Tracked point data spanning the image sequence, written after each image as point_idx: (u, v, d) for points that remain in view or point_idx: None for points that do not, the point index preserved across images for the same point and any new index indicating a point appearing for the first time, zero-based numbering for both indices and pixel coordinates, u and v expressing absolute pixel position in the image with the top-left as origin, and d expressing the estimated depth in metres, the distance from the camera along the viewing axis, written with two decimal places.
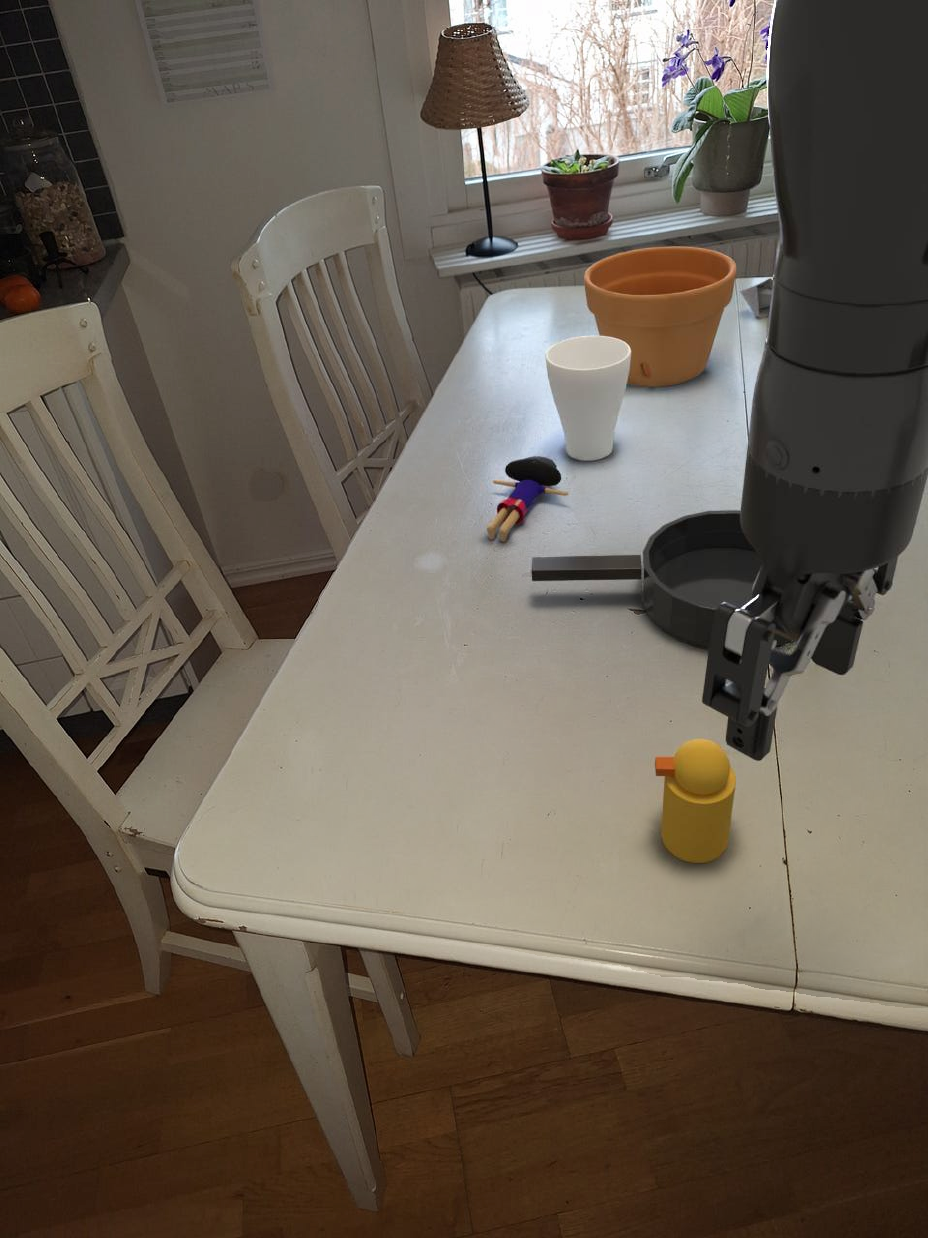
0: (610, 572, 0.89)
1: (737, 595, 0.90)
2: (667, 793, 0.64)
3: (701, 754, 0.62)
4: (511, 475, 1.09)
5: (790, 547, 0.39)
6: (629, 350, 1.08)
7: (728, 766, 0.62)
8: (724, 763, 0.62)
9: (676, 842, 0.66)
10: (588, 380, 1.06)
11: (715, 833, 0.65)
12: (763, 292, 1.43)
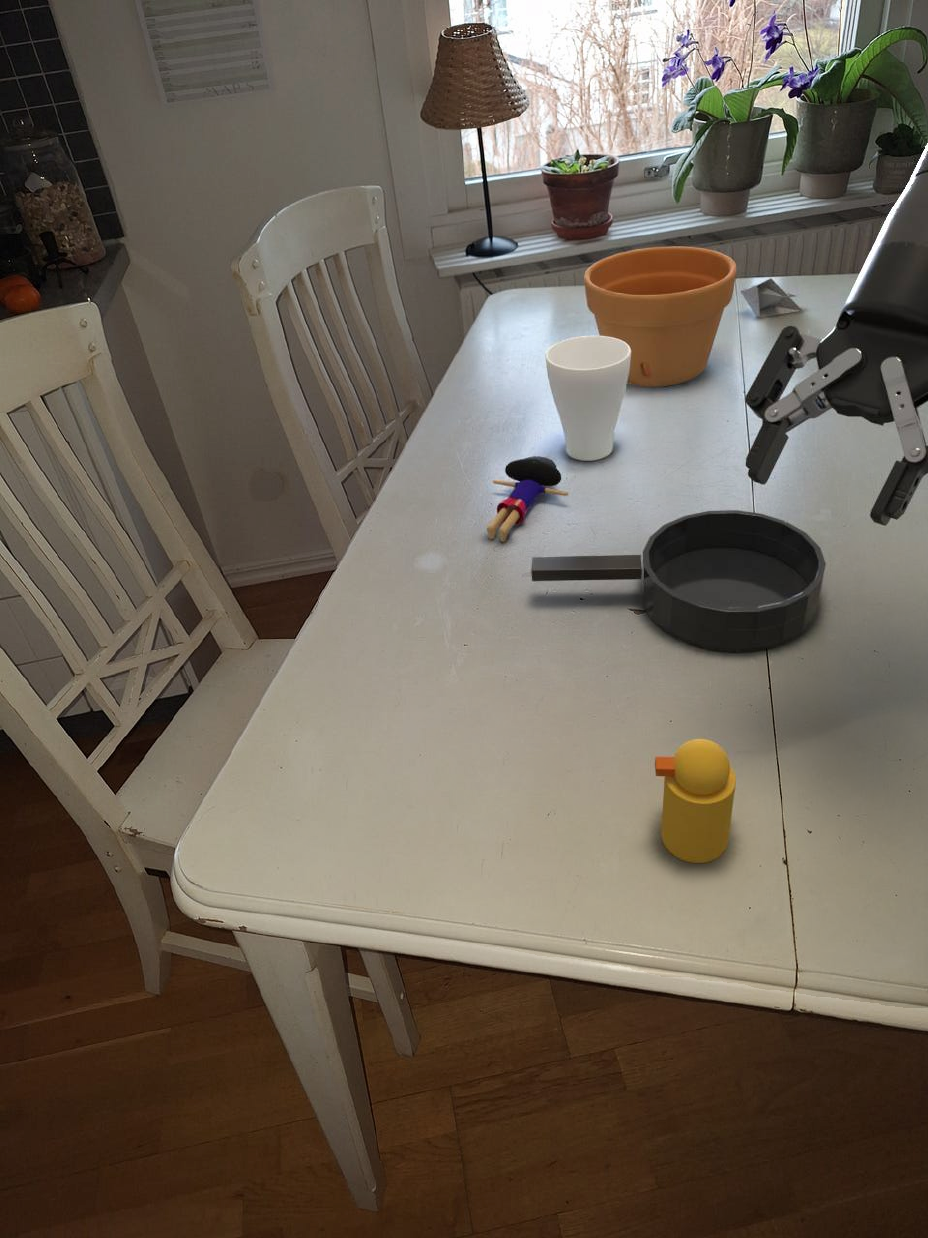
0: (610, 572, 0.89)
1: (737, 595, 0.90)
2: (667, 793, 0.64)
3: (701, 754, 0.62)
4: (511, 475, 1.09)
5: None
6: (629, 350, 1.08)
7: (728, 766, 0.62)
8: (724, 763, 0.62)
9: (676, 842, 0.66)
10: (588, 380, 1.06)
11: (715, 833, 0.65)
12: (764, 292, 1.43)
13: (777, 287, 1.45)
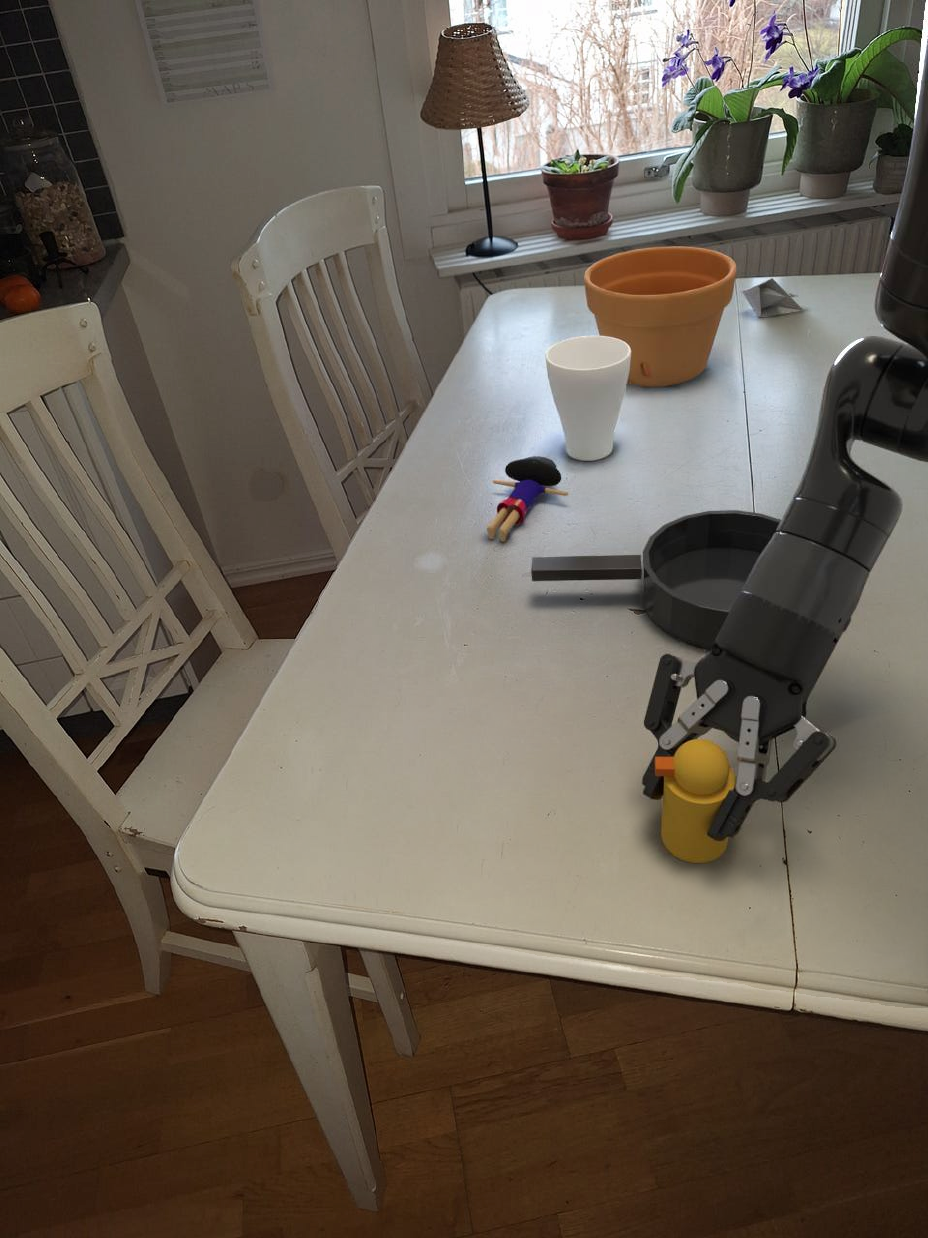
0: (610, 572, 0.89)
1: (737, 595, 0.90)
2: (667, 793, 0.64)
3: (701, 754, 0.62)
4: (511, 475, 1.09)
5: None
6: (629, 350, 1.08)
7: (728, 766, 0.62)
8: (724, 763, 0.62)
9: (676, 842, 0.66)
10: (588, 380, 1.06)
11: None
12: (765, 292, 1.43)
13: (778, 287, 1.45)
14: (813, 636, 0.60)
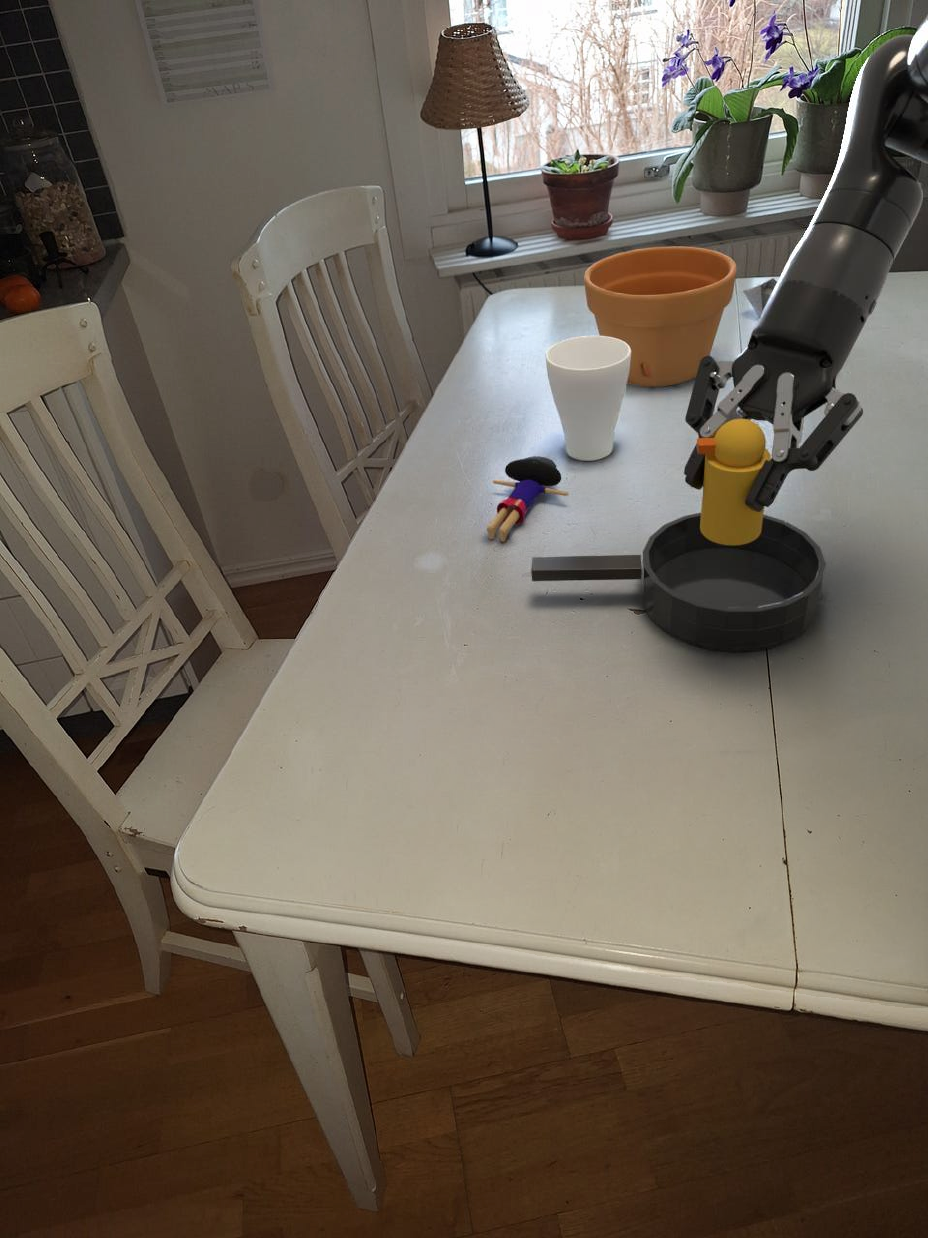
0: (610, 572, 0.89)
1: (737, 595, 0.90)
2: (708, 472, 0.71)
3: (740, 425, 0.68)
4: (511, 475, 1.09)
5: None
6: (629, 350, 1.08)
7: (764, 438, 0.69)
8: (761, 434, 0.69)
9: (715, 524, 0.73)
10: (588, 380, 1.06)
11: None
12: (766, 292, 1.43)
13: None
14: (843, 309, 0.66)
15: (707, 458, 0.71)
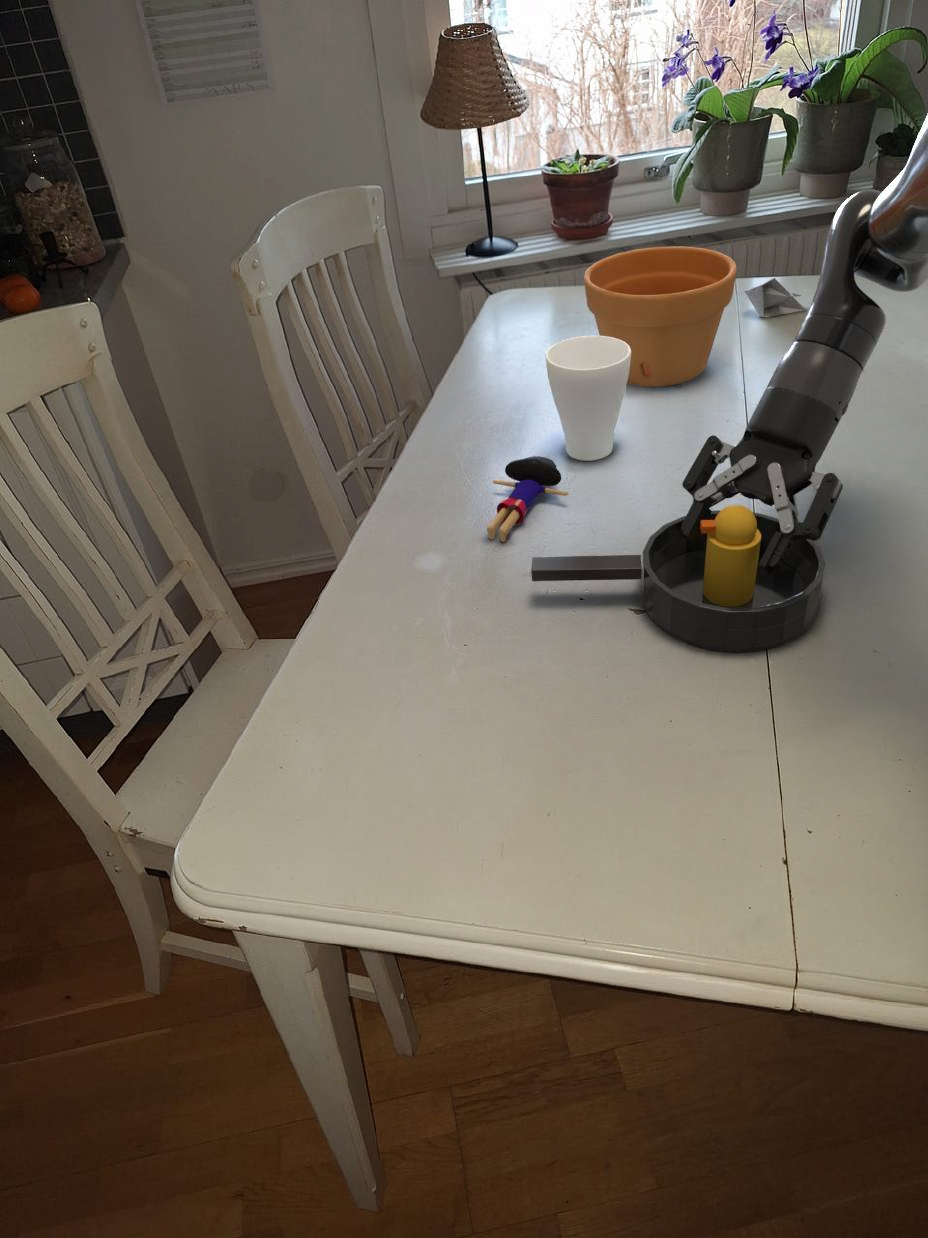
0: (610, 572, 0.89)
1: None
2: (709, 548, 0.86)
3: (736, 511, 0.84)
4: (511, 475, 1.09)
5: None
6: (629, 350, 1.08)
7: (755, 522, 0.84)
8: (753, 518, 0.84)
9: (715, 590, 0.88)
10: (588, 380, 1.06)
11: (745, 578, 0.86)
12: (768, 292, 1.43)
13: (780, 287, 1.45)
14: (820, 412, 0.81)
15: (709, 536, 0.86)
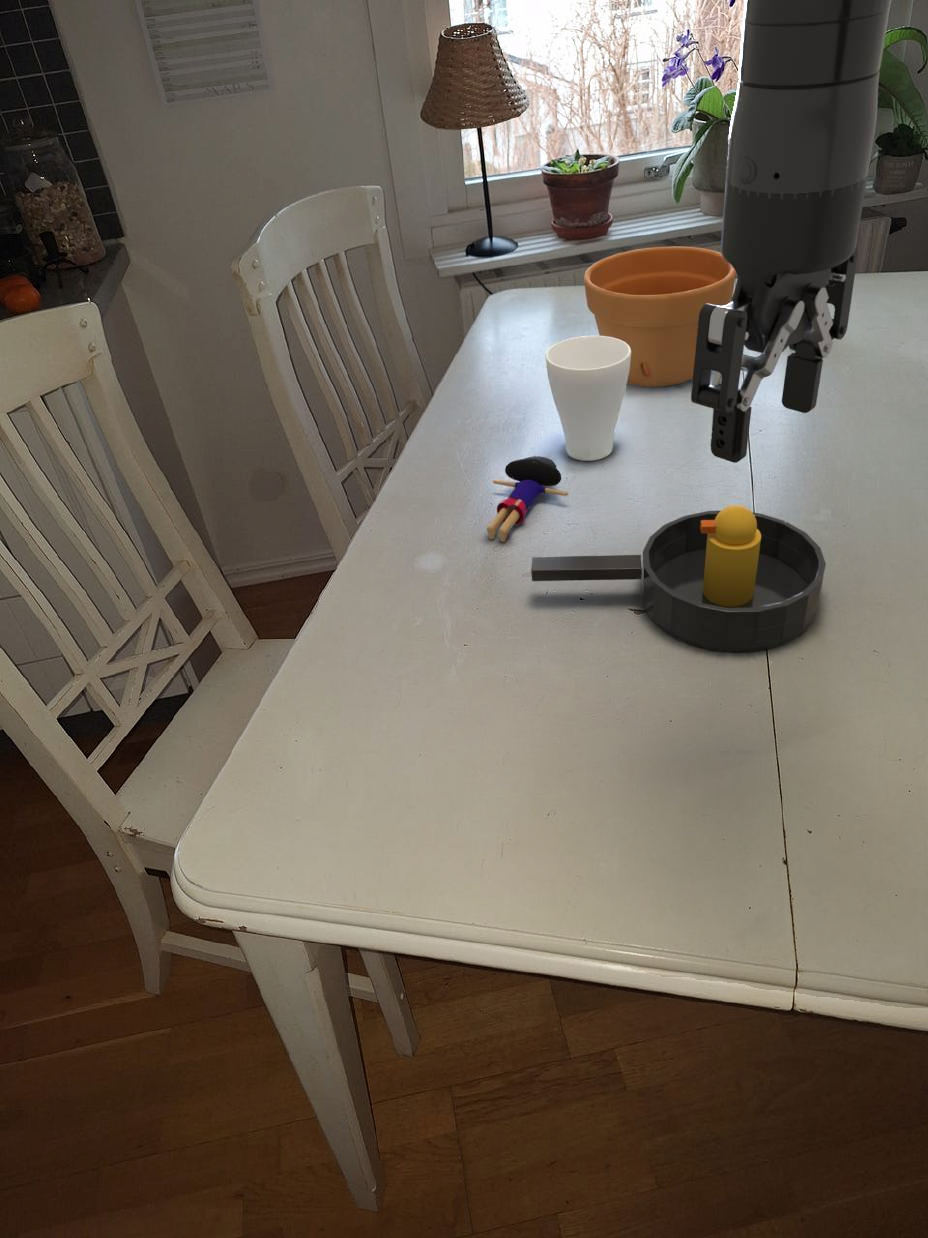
0: (610, 572, 0.89)
1: None
2: (709, 548, 0.86)
3: (736, 511, 0.84)
4: (511, 475, 1.09)
5: (759, 252, 0.49)
6: (629, 350, 1.08)
7: (755, 522, 0.84)
8: (753, 518, 0.84)
9: (715, 590, 0.88)
10: (588, 380, 1.06)
11: (745, 578, 0.86)
12: None
13: None
14: None
15: (709, 536, 0.86)
